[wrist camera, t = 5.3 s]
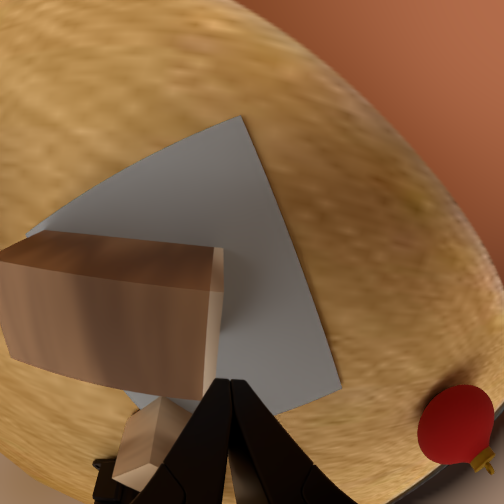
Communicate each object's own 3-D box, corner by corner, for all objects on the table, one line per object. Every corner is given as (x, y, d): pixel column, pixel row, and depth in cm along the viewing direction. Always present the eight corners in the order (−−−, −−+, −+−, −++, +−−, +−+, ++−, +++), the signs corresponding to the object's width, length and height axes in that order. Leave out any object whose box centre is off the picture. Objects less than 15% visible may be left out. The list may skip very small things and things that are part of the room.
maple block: (212, 425, 16) (213, 490, 11) (174, 446, 16) (169, 503, 11) (162, 394, 15) (149, 463, 10) (127, 418, 15) (111, 478, 10)
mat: (340, 384, 16) (342, 388, 16) (172, 437, 16) (172, 441, 16) (239, 116, 11) (240, 115, 11) (29, 232, 11) (25, 234, 11)
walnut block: (223, 292, 8) (-14, 258, 7) (213, 401, 9) (11, 357, 8) (223, 248, 12) (44, 229, 11) (214, 336, 14) (53, 311, 12)
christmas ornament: (468, 390, 19) (520, 451, 10) (412, 435, 20) (455, 506, 10) (462, 354, 17) (534, 427, 8) (395, 410, 18) (451, 501, 8)
